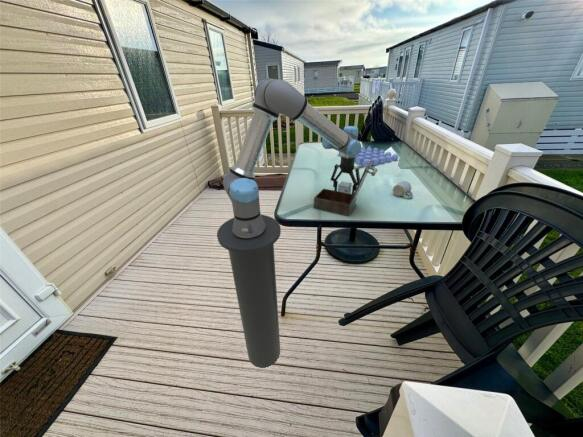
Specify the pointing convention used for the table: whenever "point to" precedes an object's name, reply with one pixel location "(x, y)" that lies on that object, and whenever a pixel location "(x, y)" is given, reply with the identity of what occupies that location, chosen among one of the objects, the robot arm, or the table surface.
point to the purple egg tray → (373, 156)
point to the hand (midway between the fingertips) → (343, 193)
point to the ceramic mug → (403, 189)
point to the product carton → (344, 187)
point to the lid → (363, 180)
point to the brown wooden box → (334, 202)
